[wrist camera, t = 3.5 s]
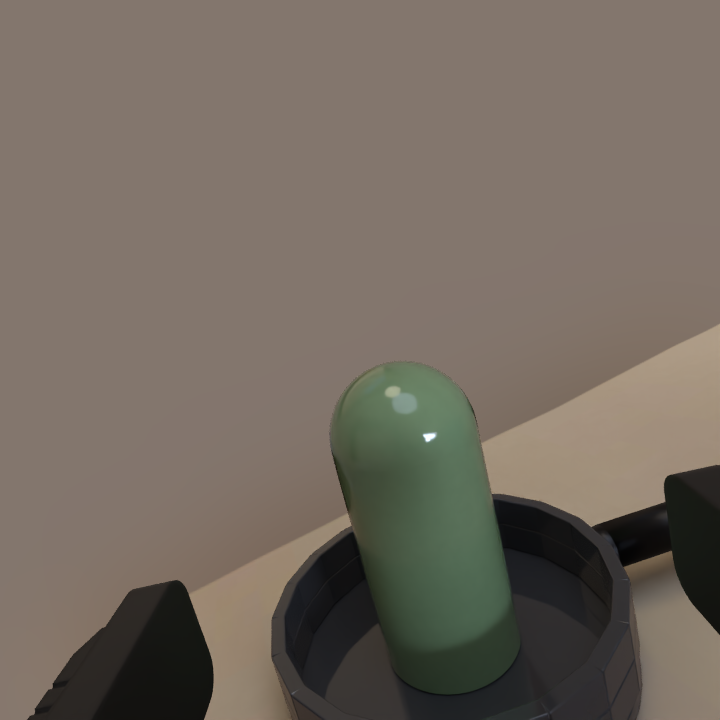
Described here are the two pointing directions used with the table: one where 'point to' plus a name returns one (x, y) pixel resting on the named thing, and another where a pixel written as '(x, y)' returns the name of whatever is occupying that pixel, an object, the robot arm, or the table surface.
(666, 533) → the pan handle
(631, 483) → the table surface
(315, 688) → the steel pan
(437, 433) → the green capsule
